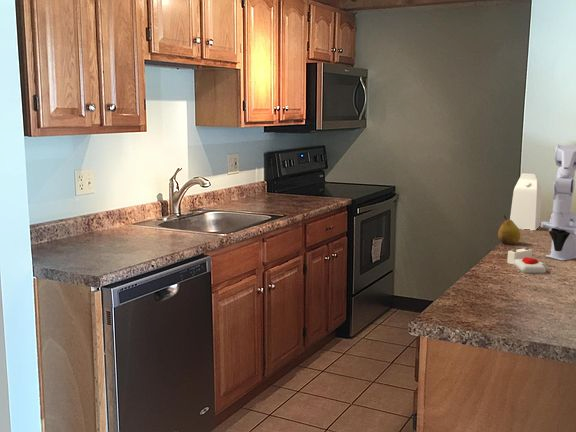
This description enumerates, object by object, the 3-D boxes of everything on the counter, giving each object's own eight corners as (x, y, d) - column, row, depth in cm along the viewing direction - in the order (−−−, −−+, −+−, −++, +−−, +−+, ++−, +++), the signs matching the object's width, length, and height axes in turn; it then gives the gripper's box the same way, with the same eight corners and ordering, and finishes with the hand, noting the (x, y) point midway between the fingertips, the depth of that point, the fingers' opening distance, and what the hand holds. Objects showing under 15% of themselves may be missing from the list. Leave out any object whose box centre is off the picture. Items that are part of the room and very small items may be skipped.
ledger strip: (525, 259, 246) (526, 246, 245) (531, 261, 243) (532, 247, 242) (507, 262, 241) (508, 249, 240) (513, 264, 238) (514, 250, 237)
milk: (539, 226, 311) (544, 173, 307) (534, 230, 302) (539, 175, 297) (514, 224, 318) (518, 171, 313) (508, 227, 308) (512, 173, 303)
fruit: (524, 244, 272) (526, 216, 270) (506, 246, 268) (508, 218, 266) (510, 240, 280) (512, 213, 277) (493, 242, 276) (495, 214, 274)
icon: (552, 263, 225) (523, 262, 226) (551, 274, 226) (522, 274, 226) (540, 254, 237) (513, 254, 238) (539, 266, 238) (512, 265, 238)
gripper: (536, 210, 226) (533, 247, 229) (572, 216, 214) (569, 256, 217) (549, 208, 230) (546, 245, 232) (585, 215, 218) (582, 254, 220)
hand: (558, 250), depth 225 cm, fingers closed
